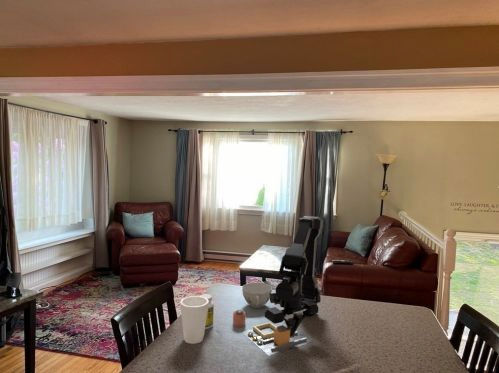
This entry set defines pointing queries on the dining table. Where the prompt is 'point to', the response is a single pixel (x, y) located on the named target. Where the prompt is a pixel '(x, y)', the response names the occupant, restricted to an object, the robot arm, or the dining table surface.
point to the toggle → (281, 335)
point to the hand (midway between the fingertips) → (291, 335)
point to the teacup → (256, 294)
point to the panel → (269, 344)
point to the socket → (256, 328)
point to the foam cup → (194, 318)
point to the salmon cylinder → (239, 318)
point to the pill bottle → (209, 311)
